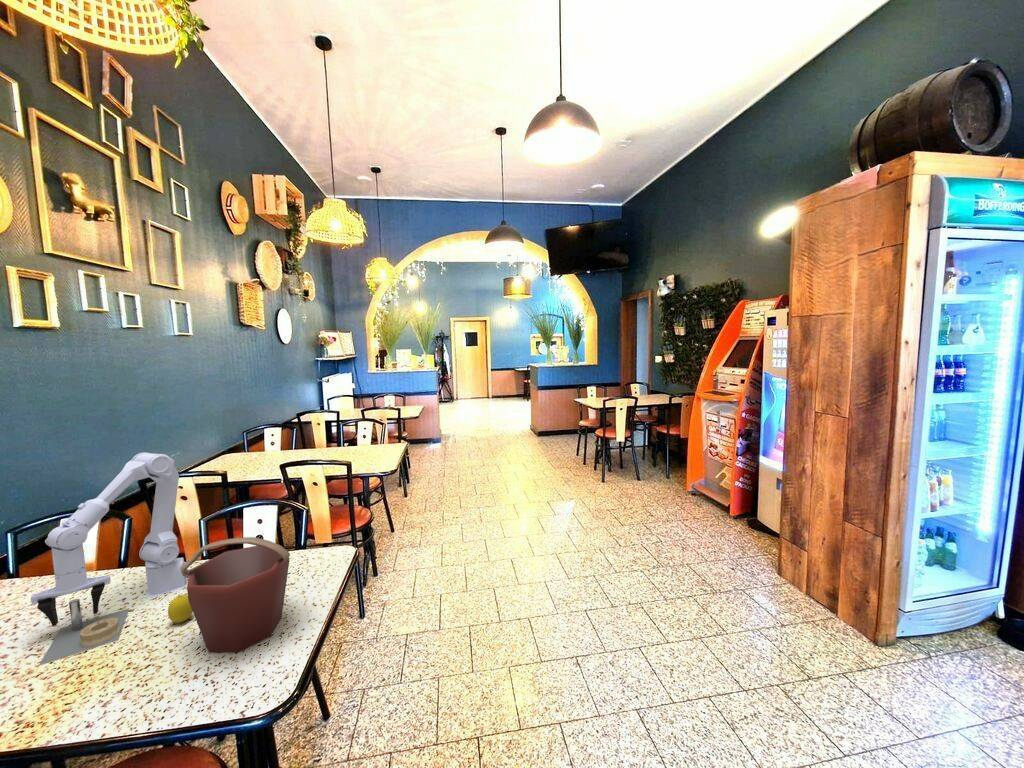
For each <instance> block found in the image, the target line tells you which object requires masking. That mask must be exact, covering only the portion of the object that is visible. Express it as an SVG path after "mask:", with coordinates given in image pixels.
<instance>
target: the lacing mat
mask: <svg viewBox="0 0 1024 768" xmlns="http://www.w3.org/2000/svg"><path fill="white" fill-rule="evenodd" d="M129 611H130V607H129V608H126V609H123V610H119V611H118V610H117V611H114V612H112V613H107V614H105V615H102V616H98V617H94V618H91V619H87V620H84V621H82V622H83V628H82V629H80V630H78V631H72V624H70V625H67V626H64V627H60V628H59V629H58V632H57V633H56V635H55V637H54V638H53V640H52V642H51V643H50V646H49V647H48V649H47V651H46V653H45V654H44V655H43V657H42V660H41V661H40V662H39V664H38V666H42V665H45V664H49V663H51V662H55V661H58V660H61V659H64V658H67V657H70V656H74V655H76V654H80V653H83V652H85V651H90V650H93V649H95V648H99V647H101V646H104V645H107V644H111V643H114V642H117V641H119V640H120V637H121V634H122V631H123V629H124V625H125V622H126V620H127V617H128V614H129ZM107 618H117V619H119V627H120V631H119V633H118V634H117V635H116V636H115V637H113V638H112V639H110V640H108V641H106V642H104V643H102V644H99V645H95V646H91V647H83V646H82V645H81V641H80V632H81V630H83V629H84V628H85V627H87V626H88V625H90V624H93V623H95V622H97V621H100V620H103V619H107Z"/></svg>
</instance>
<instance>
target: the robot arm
mask: <svg viewBox="0 0 1024 768" xmlns="http://www.w3.org/2000/svg"><path fill="white" fill-rule="evenodd" d="M147 478H150V479H151V480H152V481H154V482H155V493H154V501H153V507H152V517H151V523H150V532H149V533H148V534H147V535H146V536H145V538H144V540H143V543H142V546H141V548H140V549H139V558H140V559H141V560H142V561H144V562H145V564H144V565H145V574H146V583H147V584H146V585H147V591H146V594H145V599H149V598H153V597H156V596H159V595H163V594H166V593H170V592H174V591H177V590H181V589H184V588H185V586H186V581H187V578H186V577H184V576H183V575H182V573H181V566H182V565H183V564H184V563H185V559H184V557H178V556H179V554H180V547H179V545H178V537H177V535H176V534H175V533H174V531H173V528H174V521H175V520H174V519H175V515H176V514H175V513H176V504H177V496H178V487H179V478H180V474H179V472H178V470H177V468H176V466H175V460H174V459H173V458H171V457H170V456H169V455H168V454H164V453H152V452H151V453H150V452H145V451H144V452H140V453H137V454H135V455H134V456H133V457H132V458H131V460H129V461H127V462H126V463H125V465H124V467H123V468H122V470H121V471H120V472H119V473H118V474H117V475H116V476H115V477H114V479H112V481H111V482H110V483H109V484H108V485H107V486H106V487H105V488H104V489H103V490H102V492H101V493H99V494H98V496H97V497H95V498H92V499H88V500H86V501H84V502H81V503H80V504H79V505H77V508H78V509H76V511H75V512H73V514H71V515H70V516H69V517H68V518H67V519H66V520H63V521H62V522H61V524H60V525H59V526H57V527H54V528H53V529H52V530H51V531H49V533H48V535H47V537H46V539H45V540H44V543H45V544H46V545H47V546H48V547H49V548H51V554H52V556H51V557H52V565H53V573H54V582H55V587H52V588H49V589H46V590H43V591H40V592H37V593H33V594H32V595H31V597H30V601H31V602H30V603H31V604H30V605H31V606H32V605H35V604H37V606H36V607H37V610H38V611H40V612H41V613H43V614H44V615H45V616H46V618H47V619H48V620H49V622H50V624H51V626H52V627H56V626H57V624H58V622H59V617H58V613H57V604H56V603H57V602H56V599H57V598H58V597H62V596H67V595H69V594H73V593H77V592H80V591H84V590H89V589H91V590H90V595H91V600H92V611H93V612H92V614H93V615H96V614H98V612H99V604H100V599H101V596H102V594H103V591H104V589H105V586H106V585H107V586H108V585H110V584H111V582H112V581H111V575H110V574H107V575H106V574H105V575H102V576H95V577H89V578H88V576H87V568H86V566H87V565H86V560H85V559H86V557H85V551H84V543H85V542H86V541H87V539H88V534H89V532H90V531H91V529H93V528H94V526H95V525H97V524H98V523H99V521H100V520H102V519H103V517H104V516H105V515H106V514H107V513H108V512H109V511H110V504H111V503H112V502H114V500H115V499H116V498H117V497H119V496H120V495H121V494H122V493H123V492H124V491H125V490H126V489H127V488H129V486H130V485H132V484H133V483H134V482H135V481H140V480H145V479H147Z"/></svg>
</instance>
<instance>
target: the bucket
mask: <svg viewBox="0 0 1024 768" xmlns="http://www.w3.org/2000/svg"><path fill="white" fill-rule="evenodd" d="M243 544H244V545H247V544H248V545H251V546H249V547H244V548H243V547H242V548H239V549H232V550H227V551H226V550H225V551H224V552H222V553H220V554H218V555H216V556H214V557H213V558H211V559H209V560H206V561H204V562H203V563H200V564H199V565H197V566H195V567H192V568H191V569H189V567H191V566H192V565H193V564H194V563H195V562H196V561H197V560H198V559H199V558H200V556H201V555H202V554H203V553H204V552H206V551H208V550H212V549H216V548H218V547H219V548H220V547H224V546H229V545H230V546H231V545H243ZM290 555H291V554H290V551H289V550H287V549H286V548H284V546H282V545H280V544H278V543H276V542H273V541H271V540H268V539H263V538H259V537H255V536H254V537H253V536H250V537H249V536H248V537H247V536H245V537H233V538H227V539H221V540H217V541H214V542H211V543H209V544H205V545H203V546H202V547H200V548H199V549H198V550H197V551H196V552H195V553H194V555H193V556H192V557H191V558H190V559H189V560H188V561H185V562H184V564H183V565H182V566H181V573H182V575H183V576H184V577H186V579H187V585H186V590H187V596H188V600H189V603H190V606H191V608H192V611H193V612H192V614H193V615H194V619H195V621H196V623H197V626H198V628H199V632H200V634H201V638H202V640H203V642H204V645H205V647H206V649H207V652H208V654H239V653H240V652H243V651H244V650H246V649H248V648H250V647H253V646H255V645H256V644H258V643H261V642H263V641H265V640H266V639H269V638H270V637H272V636H273V634H274V632H275V630H276V628H277V627H278V625H279V623H280V622H281V620H282V619H283V611H284V603H285V597H286V588H287V580H288V573H289V566H290Z"/></svg>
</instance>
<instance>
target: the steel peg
mask: <svg viewBox="0 0 1024 768" xmlns="http://www.w3.org/2000/svg"><path fill="white" fill-rule="evenodd" d="M68 607H69V615H70V620H71V625H72V631H78V630H80V629H82V628H83V622H84V621H83V616H82V608H81V601H80V598H75V599H72V600H70V601H68Z"/></svg>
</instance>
